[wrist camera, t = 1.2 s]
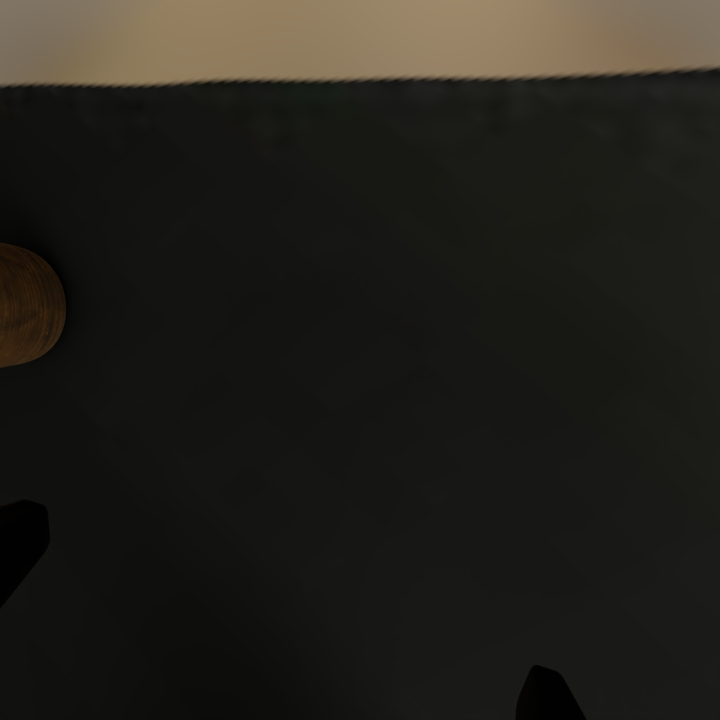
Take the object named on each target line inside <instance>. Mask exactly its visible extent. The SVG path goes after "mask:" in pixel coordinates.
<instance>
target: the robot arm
mask: <svg viewBox="0 0 720 720" xmlns="http://www.w3.org/2000/svg"><path fill="white" fill-rule="evenodd" d="M49 541H50V533H49V521H48V511H47V508H46V507H45V506H44V505H42V504H39V503H36V502H33V501H29V500H21V501H17V502H14V503H11V504H8V505H5V506H2V507H0V608H1V607H2V605H3V604H4V603H5V602H6V600H7V599H8V598H9V597H10V595H11V594H12V593H13V592H14V590H15V589H16V588H17V587H18V585H19V584H20V583H21V582H22V580H23V579H24V578H25V577H26V575H27V574H28V573H29V572H30V570H31V569H32V568H33V567H34V565H35V564H36V563H37V562H38V560H39V559H40V558H41V557H42V555H43V554H44V553H45V551H46V549H47V547H48V545H49ZM516 720H586V718H585V716H584V714H583V712H582V711H581V709H580V707H579V705H578V703H577V702H576V700H575V698H574V696H573V694H572V693H571V691H570V689H569V687H568V685H567V684H566V682H565V680H564V678H563V677H562V676H561V674H560V673H558V672H557V671H554V670H551V669H548V668H545V667H542V666H539V665H534V666H533V667H532V668H531V670H530V672H529V674H528V676H527V679H526V681H525V683H524V686H523V688H522V691H521V693H520V695H519V698H518V702H517V707H516Z"/></svg>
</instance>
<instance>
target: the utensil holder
mask: <svg viewBox="0 0 720 720" xmlns="http://www.w3.org/2000/svg"><path fill="white" fill-rule="evenodd" d="M65 319H66V299H65V294H64V290H63V287H62V284H61V282H60V280H59V278H58V276H57V274H56V273H55V271H54V270H53V269H52V267H51V266H50V265H49V264H48V263H47V262H46V261H45V260H44V259H42V258H41V257H40V256H38V255H37V254H35V253H33V252H31V251H29V250H27V249H24V248H21V247H18V246H14V245H10V244H5V243H0V367H7V366H13V365H18V364H22V363H26V362H29V361H32V360H35V359H37V358H39V357H41V356H42V355H44V354H45V353H46V352H48V351H49V350H50V349H51V348H52V347H53V346H54V344H55V343H56V342H57V340H58V339H59V337H60V335H61V333H62V330H63V327H64V324H65Z"/></svg>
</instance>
